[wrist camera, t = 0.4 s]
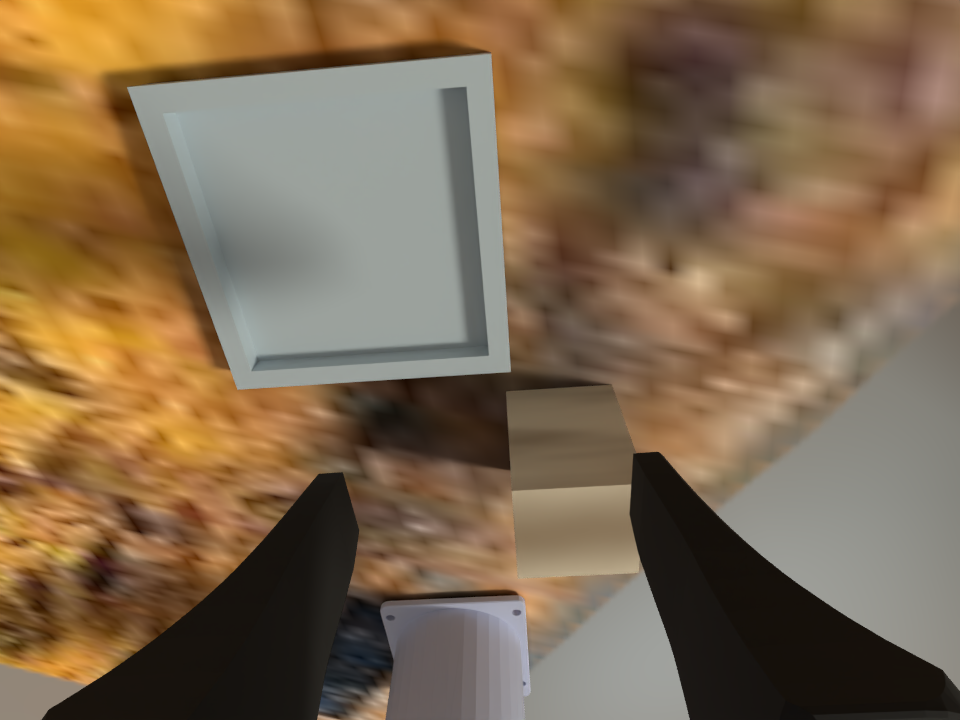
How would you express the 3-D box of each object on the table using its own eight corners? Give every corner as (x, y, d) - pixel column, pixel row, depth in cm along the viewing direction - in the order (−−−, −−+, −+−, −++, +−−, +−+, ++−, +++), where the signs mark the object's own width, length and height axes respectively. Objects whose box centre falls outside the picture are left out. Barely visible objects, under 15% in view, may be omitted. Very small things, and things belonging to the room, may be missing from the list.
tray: (509, 356, 23) (510, 371, 22) (248, 373, 23) (237, 389, 22) (490, 52, 17) (490, 53, 16) (147, 83, 18) (127, 87, 17)
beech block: (608, 464, 26) (637, 572, 21) (511, 469, 26) (517, 578, 21) (611, 384, 24) (646, 483, 19) (506, 391, 24) (511, 491, 19)
